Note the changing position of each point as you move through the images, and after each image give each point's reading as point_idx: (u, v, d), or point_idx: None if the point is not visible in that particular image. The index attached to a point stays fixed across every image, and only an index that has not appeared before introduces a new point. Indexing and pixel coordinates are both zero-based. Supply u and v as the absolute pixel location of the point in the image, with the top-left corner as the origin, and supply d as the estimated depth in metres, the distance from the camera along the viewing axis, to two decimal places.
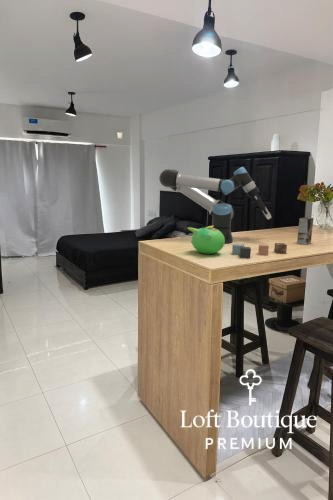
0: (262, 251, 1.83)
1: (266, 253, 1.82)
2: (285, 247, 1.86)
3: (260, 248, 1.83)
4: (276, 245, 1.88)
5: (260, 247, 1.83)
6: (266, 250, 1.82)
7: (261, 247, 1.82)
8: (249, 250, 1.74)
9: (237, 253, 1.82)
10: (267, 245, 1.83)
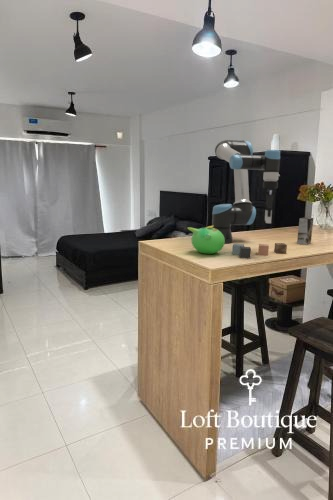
0: (262, 251, 1.83)
1: (266, 253, 1.82)
2: (285, 247, 1.86)
3: (260, 248, 1.83)
4: (276, 245, 1.88)
5: (260, 247, 1.83)
6: (266, 250, 1.82)
7: (261, 247, 1.82)
8: (249, 250, 1.74)
9: (237, 253, 1.82)
10: (267, 245, 1.83)
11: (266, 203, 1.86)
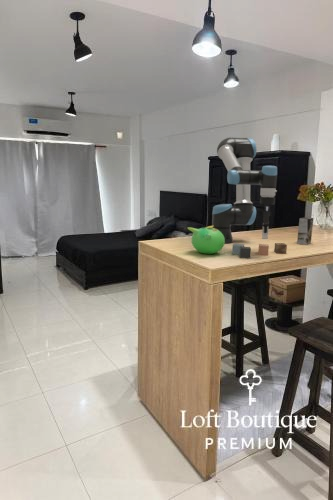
0: (262, 251, 1.83)
1: (266, 253, 1.82)
2: (285, 247, 1.86)
3: (260, 248, 1.83)
4: (276, 245, 1.88)
5: (260, 247, 1.83)
6: (266, 250, 1.82)
7: (261, 247, 1.82)
8: (249, 250, 1.74)
9: (237, 253, 1.82)
10: (267, 245, 1.83)
11: None
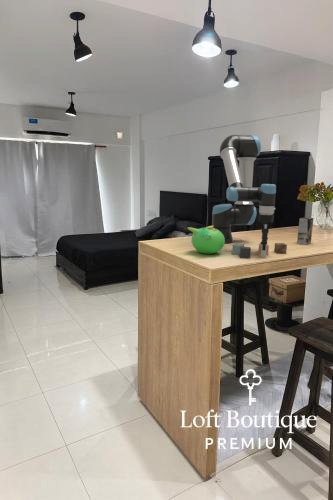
0: None
1: (266, 253, 1.82)
2: (285, 247, 1.86)
3: (260, 248, 1.83)
4: (276, 245, 1.88)
5: (260, 247, 1.83)
6: None
7: None
8: (249, 250, 1.74)
9: (237, 253, 1.82)
10: (267, 245, 1.83)
11: (262, 234, 1.88)
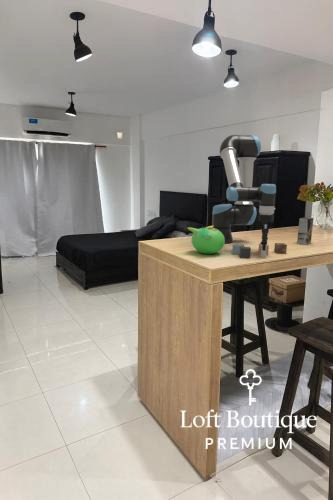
0: None
1: (266, 253, 1.82)
2: (285, 247, 1.86)
3: (260, 248, 1.83)
4: (276, 245, 1.88)
5: (260, 247, 1.83)
6: None
7: None
8: (249, 250, 1.74)
9: (237, 253, 1.82)
10: (267, 245, 1.83)
11: (262, 234, 1.88)
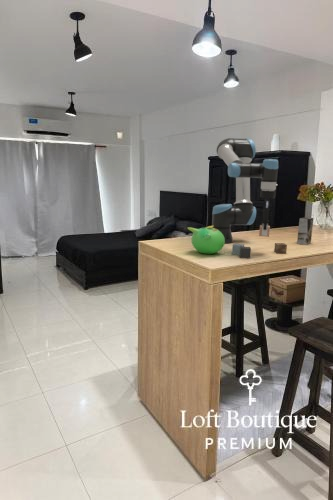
0: None
1: (267, 234, 1.81)
2: (285, 247, 1.86)
3: (261, 229, 1.81)
4: (276, 245, 1.88)
5: (261, 228, 1.81)
6: (267, 231, 1.80)
7: None
8: (249, 250, 1.74)
9: (237, 253, 1.82)
10: (268, 226, 1.82)
11: (263, 214, 1.84)
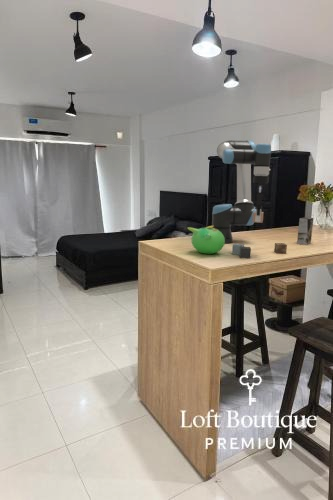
0: None
1: (261, 220, 1.78)
2: (285, 247, 1.86)
3: (254, 215, 1.78)
4: (276, 245, 1.88)
5: (254, 214, 1.78)
6: (261, 217, 1.78)
7: (255, 214, 1.78)
8: (249, 250, 1.74)
9: (237, 253, 1.82)
10: (262, 212, 1.79)
11: None
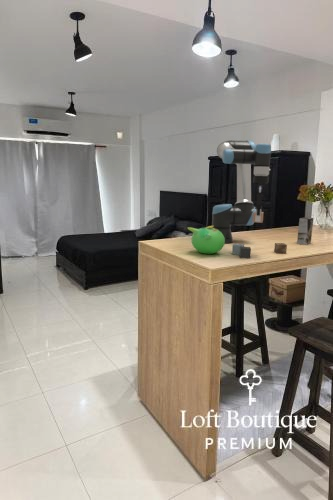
0: None
1: (261, 220, 1.78)
2: (285, 247, 1.86)
3: (254, 215, 1.78)
4: (276, 245, 1.88)
5: (254, 214, 1.78)
6: (261, 217, 1.78)
7: (255, 214, 1.78)
8: (249, 250, 1.74)
9: (237, 253, 1.82)
10: (262, 212, 1.79)
11: None
